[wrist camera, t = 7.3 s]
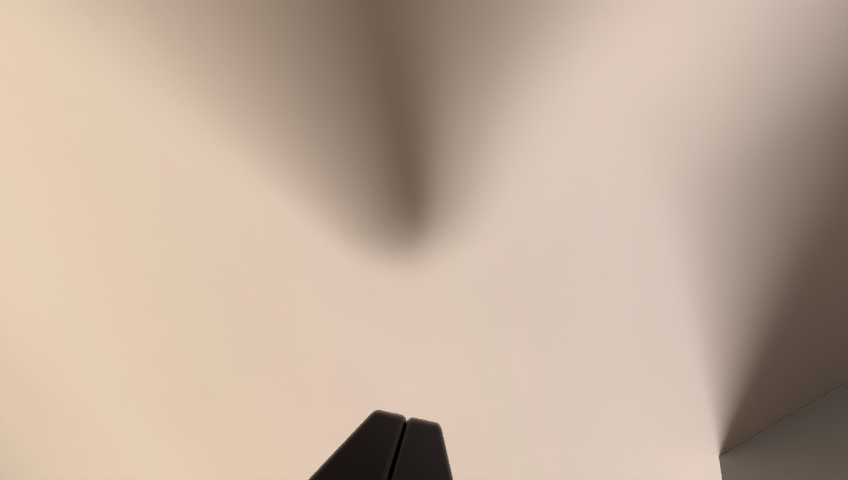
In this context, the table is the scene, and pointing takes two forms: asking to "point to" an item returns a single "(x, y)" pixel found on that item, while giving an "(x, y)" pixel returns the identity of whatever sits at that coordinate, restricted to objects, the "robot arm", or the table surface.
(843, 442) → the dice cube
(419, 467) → the robot arm
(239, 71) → the table surface
